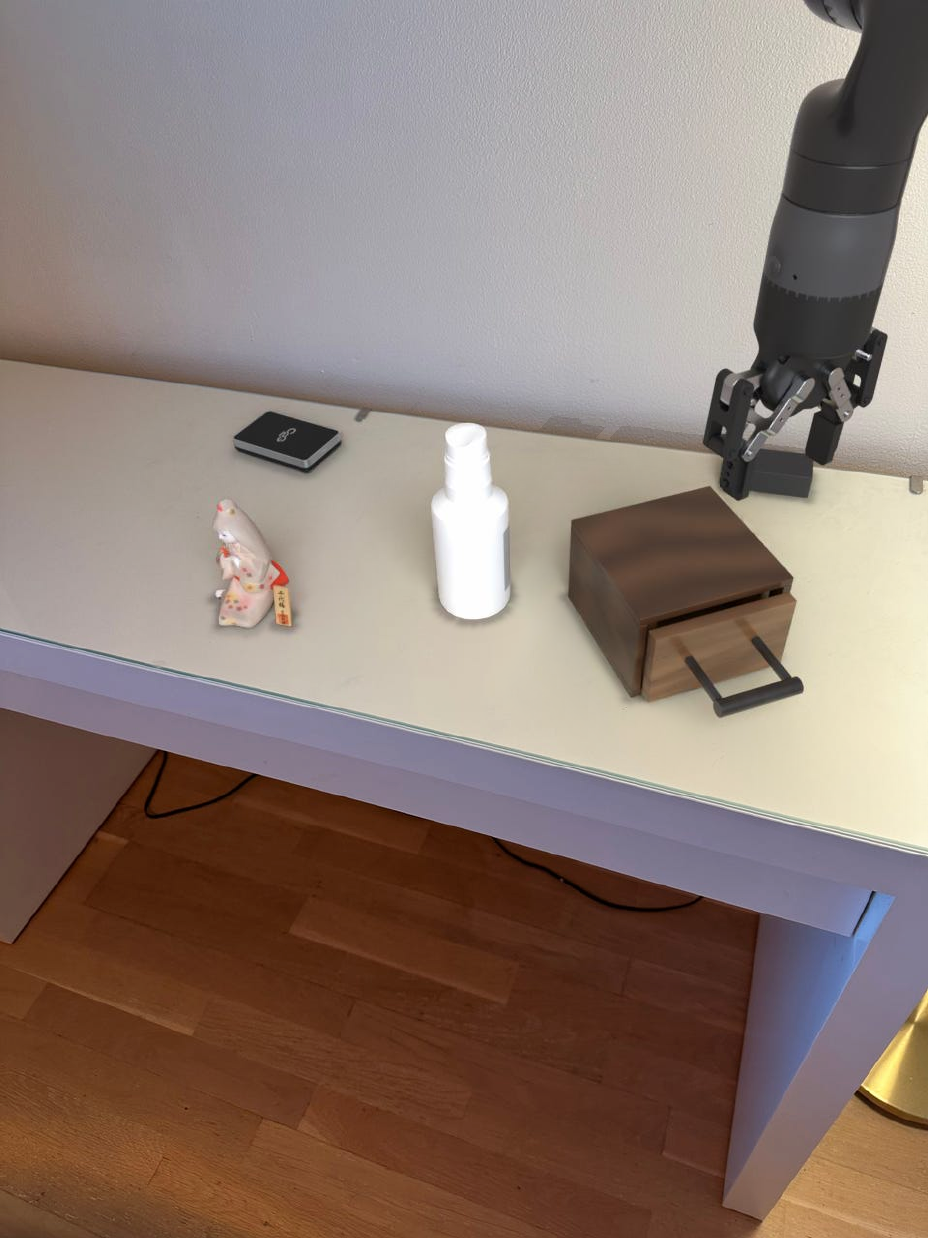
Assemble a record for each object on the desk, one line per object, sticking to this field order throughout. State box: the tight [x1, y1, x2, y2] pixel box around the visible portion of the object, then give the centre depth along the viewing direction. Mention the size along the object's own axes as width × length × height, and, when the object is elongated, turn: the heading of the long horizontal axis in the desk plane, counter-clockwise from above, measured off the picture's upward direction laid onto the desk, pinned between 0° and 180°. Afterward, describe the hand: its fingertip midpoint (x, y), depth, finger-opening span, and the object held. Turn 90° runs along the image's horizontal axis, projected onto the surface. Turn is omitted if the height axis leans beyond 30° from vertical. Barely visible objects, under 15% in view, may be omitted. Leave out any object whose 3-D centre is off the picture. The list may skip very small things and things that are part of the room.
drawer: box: [641, 591, 805, 719], centre depth 77 cm, size 19×12×7 cm, turn 18°
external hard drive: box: [232, 410, 342, 473], centre depth 107 cm, size 7×11×2 cm, turn 60°
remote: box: [749, 447, 814, 499], centre depth 98 cm, size 8×4×3 cm, turn 73°
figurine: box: [212, 497, 293, 629], centre depth 85 cm, size 9×7×12 cm
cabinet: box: [567, 485, 795, 698], centre depth 81 cm, size 14×14×9 cm
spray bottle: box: [430, 422, 512, 620], centre depth 82 cm, size 7×7×18 cm
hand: (776, 476), depth 71 cm, fingers open, 8 cm apart
